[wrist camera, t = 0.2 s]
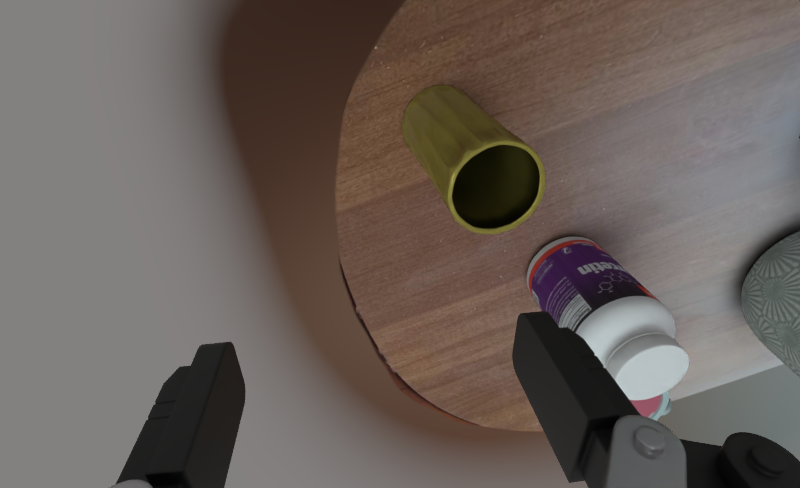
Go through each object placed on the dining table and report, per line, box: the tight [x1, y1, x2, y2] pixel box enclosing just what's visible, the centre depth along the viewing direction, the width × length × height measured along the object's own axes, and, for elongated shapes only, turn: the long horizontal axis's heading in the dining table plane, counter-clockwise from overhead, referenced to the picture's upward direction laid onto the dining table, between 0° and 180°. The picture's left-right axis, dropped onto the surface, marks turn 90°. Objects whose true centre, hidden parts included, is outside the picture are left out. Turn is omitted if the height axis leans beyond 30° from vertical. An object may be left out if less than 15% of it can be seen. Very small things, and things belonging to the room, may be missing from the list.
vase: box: [402, 85, 546, 234], centre depth 27 cm, size 6×6×14 cm
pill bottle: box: [527, 237, 689, 400], centre depth 36 cm, size 8×8×14 cm
